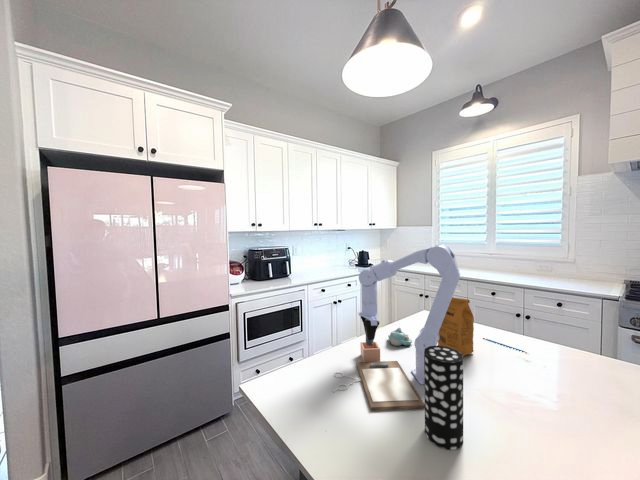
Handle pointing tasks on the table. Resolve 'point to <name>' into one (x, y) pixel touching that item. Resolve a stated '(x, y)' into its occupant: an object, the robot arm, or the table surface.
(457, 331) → the coffee package
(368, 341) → the marker
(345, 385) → the scissors
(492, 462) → the table surface
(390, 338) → the stuffed animal
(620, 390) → the table surface
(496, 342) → the grey thin rod
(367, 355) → the pen cup
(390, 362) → the clipboard
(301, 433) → the table surface
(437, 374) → the white-spotted black cylinder
